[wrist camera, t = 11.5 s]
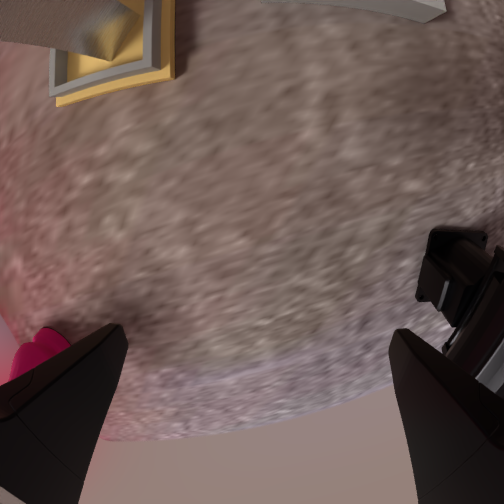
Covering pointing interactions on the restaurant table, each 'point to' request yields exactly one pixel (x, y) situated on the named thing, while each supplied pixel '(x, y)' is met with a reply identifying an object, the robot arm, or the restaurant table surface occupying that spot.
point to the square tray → (120, 58)
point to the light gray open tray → (386, 7)
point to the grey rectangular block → (68, 25)
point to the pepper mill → (37, 351)
